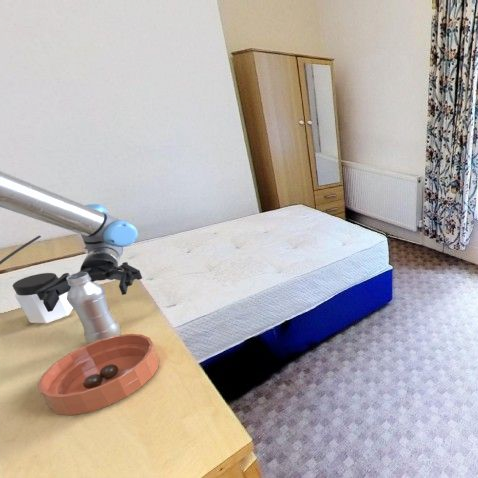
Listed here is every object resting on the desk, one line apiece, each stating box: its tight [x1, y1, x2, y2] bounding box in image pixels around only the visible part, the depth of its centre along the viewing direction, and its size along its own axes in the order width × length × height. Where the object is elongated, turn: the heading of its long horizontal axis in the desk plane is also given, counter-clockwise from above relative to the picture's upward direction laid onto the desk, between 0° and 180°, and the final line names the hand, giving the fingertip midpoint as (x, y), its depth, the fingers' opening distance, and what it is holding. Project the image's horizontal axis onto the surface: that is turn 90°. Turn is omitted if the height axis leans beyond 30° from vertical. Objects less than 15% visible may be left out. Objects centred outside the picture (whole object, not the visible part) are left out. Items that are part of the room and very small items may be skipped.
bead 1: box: [83, 374, 103, 389], centre depth 70 cm, size 3×3×3 cm
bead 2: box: [100, 364, 118, 379], centre depth 73 cm, size 3×3×3 cm
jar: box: [12, 272, 74, 324], centre depth 91 cm, size 9×8×12 cm
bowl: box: [37, 333, 160, 416], centre depth 72 cm, size 18×18×6 cm
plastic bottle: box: [66, 271, 122, 344], centre depth 81 cm, size 6×7×20 cm
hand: (86, 298), depth 81 cm, fingers open, 13 cm apart
